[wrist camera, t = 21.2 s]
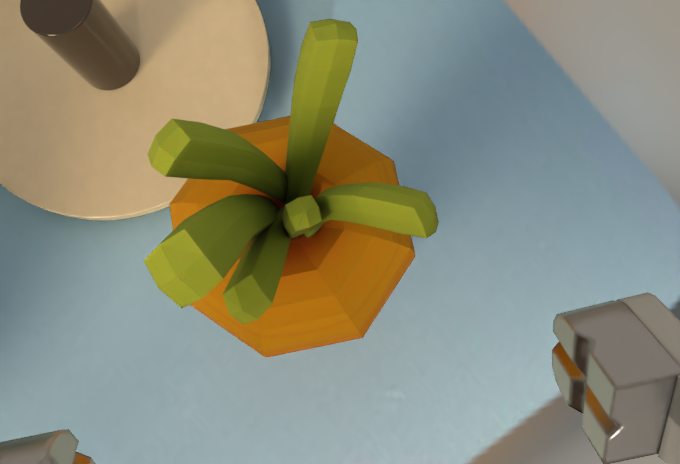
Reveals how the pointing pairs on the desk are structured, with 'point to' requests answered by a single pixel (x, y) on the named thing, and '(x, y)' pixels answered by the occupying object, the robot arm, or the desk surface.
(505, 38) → the desk surface
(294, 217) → the carrot
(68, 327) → the desk surface
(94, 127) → the pot lid
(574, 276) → the desk surface
